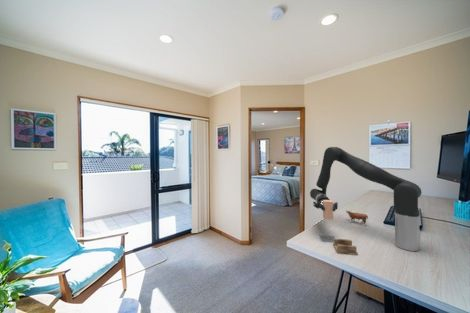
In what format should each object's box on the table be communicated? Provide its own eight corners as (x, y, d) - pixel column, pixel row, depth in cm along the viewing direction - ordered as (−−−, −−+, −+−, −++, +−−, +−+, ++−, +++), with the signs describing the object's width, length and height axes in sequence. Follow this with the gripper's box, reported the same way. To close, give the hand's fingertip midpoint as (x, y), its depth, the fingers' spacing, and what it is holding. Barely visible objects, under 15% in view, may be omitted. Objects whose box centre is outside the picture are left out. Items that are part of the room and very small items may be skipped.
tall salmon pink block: (331, 217, 107) (331, 200, 106) (333, 219, 103) (332, 201, 103) (323, 216, 108) (322, 199, 108) (324, 219, 105) (324, 201, 104)
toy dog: (346, 219, 135) (346, 208, 134) (368, 224, 124) (368, 212, 124) (343, 220, 132) (343, 209, 132) (366, 226, 121) (366, 214, 121)
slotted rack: (351, 247, 97) (351, 239, 97) (357, 256, 90) (357, 247, 89) (332, 245, 100) (332, 238, 99) (337, 254, 92) (337, 245, 92)
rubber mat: (333, 236, 109) (333, 236, 109) (337, 243, 101) (337, 243, 101) (319, 235, 111) (319, 235, 111) (321, 242, 103) (321, 241, 103)
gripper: (310, 194, 121) (314, 202, 104) (334, 195, 117) (343, 203, 101) (310, 206, 121) (315, 215, 105) (335, 207, 118) (343, 216, 101)
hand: (329, 209), depth 103 cm, fingers closed on tall salmon pink block, 4 cm apart
